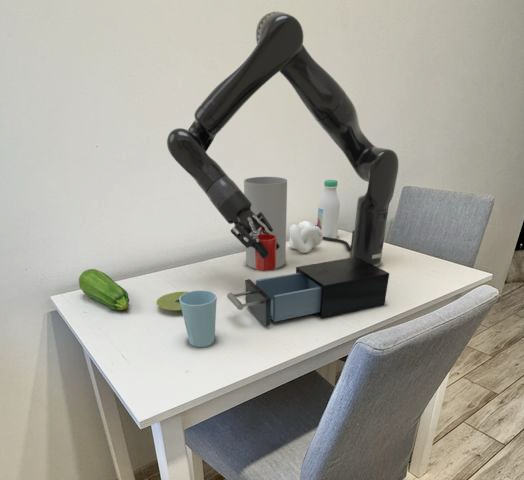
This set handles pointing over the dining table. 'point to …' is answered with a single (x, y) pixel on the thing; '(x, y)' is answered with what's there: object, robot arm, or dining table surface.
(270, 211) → the cylinder vase
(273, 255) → the red tumbler
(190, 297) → the cup
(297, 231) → the white knot sculpture
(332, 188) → the milk bottle
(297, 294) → the dish drawer
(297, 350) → the dining table surface
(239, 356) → the dining table surface
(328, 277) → the black drawer casing
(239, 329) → the dining table surface
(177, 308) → the mat
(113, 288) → the vegetable
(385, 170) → the robot arm
